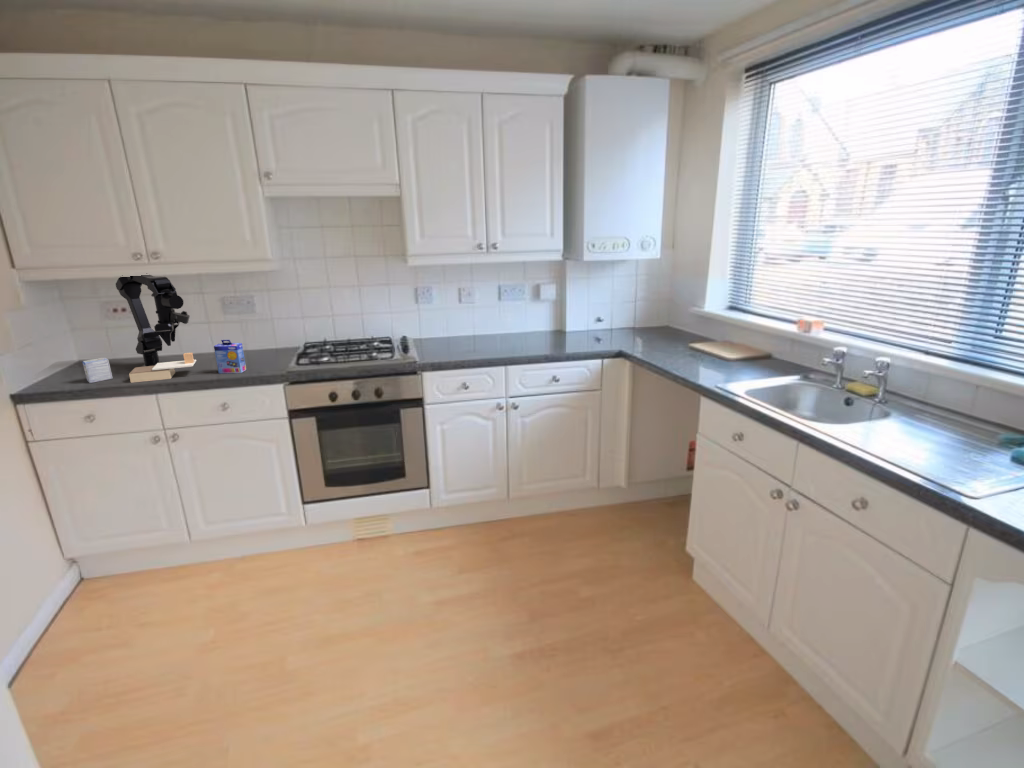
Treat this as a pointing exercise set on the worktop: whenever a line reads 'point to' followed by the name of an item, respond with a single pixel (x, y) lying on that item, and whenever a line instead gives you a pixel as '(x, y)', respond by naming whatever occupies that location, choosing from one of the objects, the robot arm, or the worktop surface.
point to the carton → (150, 374)
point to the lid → (177, 363)
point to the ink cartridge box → (230, 357)
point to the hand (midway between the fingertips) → (171, 343)
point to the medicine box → (97, 370)
